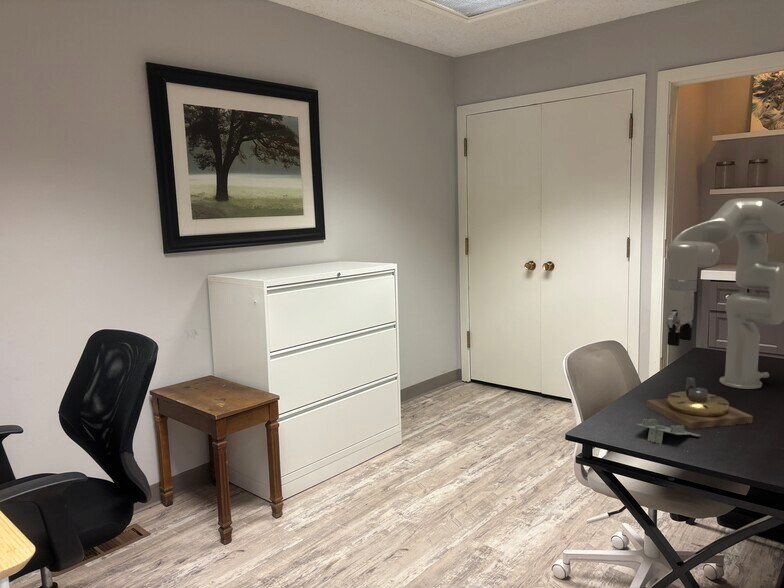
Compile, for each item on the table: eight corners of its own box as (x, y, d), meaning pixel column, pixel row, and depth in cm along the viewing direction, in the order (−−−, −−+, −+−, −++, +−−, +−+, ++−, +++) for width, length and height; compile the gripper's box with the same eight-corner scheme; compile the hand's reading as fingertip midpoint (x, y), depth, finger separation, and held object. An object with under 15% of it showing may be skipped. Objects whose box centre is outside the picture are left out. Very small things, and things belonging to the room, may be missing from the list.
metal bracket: (685, 429, 153) (628, 415, 163) (682, 451, 152) (624, 436, 163) (703, 429, 163) (648, 416, 173) (700, 450, 162) (644, 436, 173)
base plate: (703, 400, 190) (703, 394, 189) (752, 422, 170) (752, 415, 170) (646, 406, 186) (646, 399, 186) (690, 429, 166) (690, 422, 166)
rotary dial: (702, 396, 187) (703, 375, 186) (741, 413, 171) (742, 390, 170) (656, 400, 184) (657, 379, 183) (692, 418, 168) (693, 395, 167)
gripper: (679, 281, 185) (676, 336, 187) (657, 287, 173) (655, 345, 175) (705, 283, 179) (702, 339, 182) (685, 289, 167) (682, 349, 170)
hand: (679, 342), depth 178 cm, fingers open, 9 cm apart
